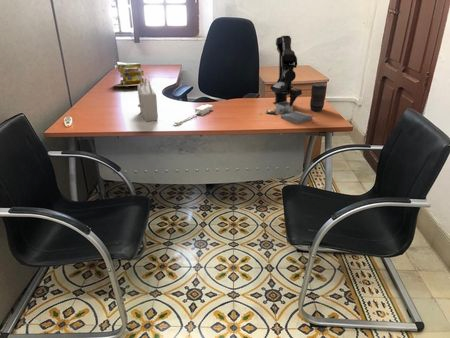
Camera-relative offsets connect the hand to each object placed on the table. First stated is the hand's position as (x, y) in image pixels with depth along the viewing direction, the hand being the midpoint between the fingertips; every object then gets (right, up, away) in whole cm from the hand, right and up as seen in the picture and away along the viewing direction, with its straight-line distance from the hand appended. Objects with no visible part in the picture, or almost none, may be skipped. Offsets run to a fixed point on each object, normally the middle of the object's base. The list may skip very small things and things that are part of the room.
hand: (284, 104), depth 199 cm
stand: (+5, -9, -8) cm, 13 cm away
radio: (-77, -8, -5) cm, 78 cm away
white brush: (-51, -8, -5) cm, 52 cm away
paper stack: (-101, +22, +51) cm, 116 cm away
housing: (0, -4, +2) cm, 5 cm away
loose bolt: (-8, -5, 0) cm, 10 cm away
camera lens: (+20, -2, +6) cm, 21 cm away
